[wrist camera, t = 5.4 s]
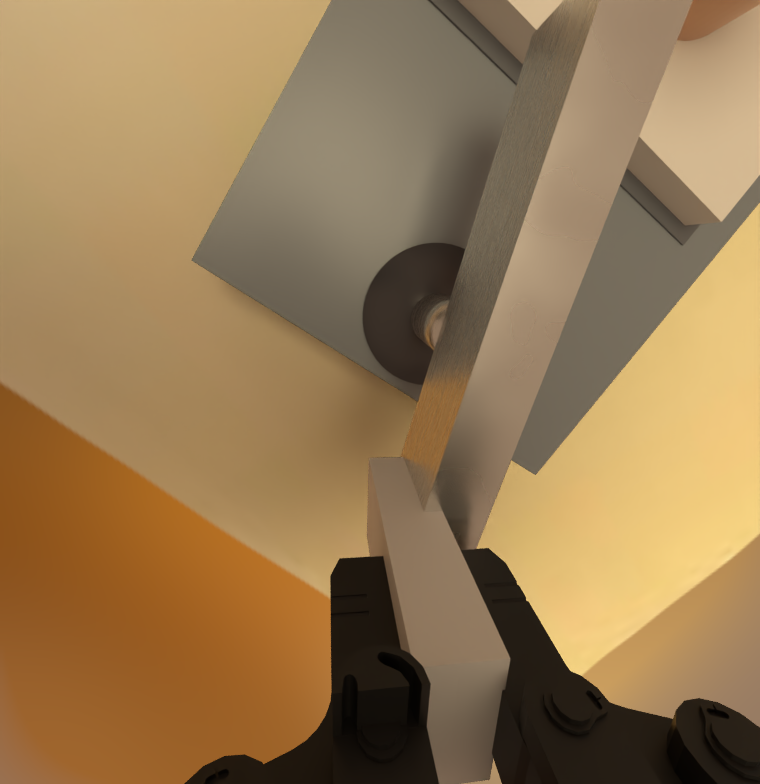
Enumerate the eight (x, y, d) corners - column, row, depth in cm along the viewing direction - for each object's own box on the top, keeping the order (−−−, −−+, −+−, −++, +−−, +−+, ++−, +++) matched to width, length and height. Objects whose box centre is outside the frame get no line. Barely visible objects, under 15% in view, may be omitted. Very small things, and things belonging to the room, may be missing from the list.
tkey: (363, 482, 16) (384, 616, 10) (475, 91, 13) (616, -67, 6) (405, 490, 17) (450, 623, 11) (527, 111, 13) (705, -19, 7)
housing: (226, 259, 18) (189, 260, 13) (517, -262, 14) (617, -536, 9) (492, 429, 23) (537, 477, 18) (773, 66, 19) (932, -2, 14)
